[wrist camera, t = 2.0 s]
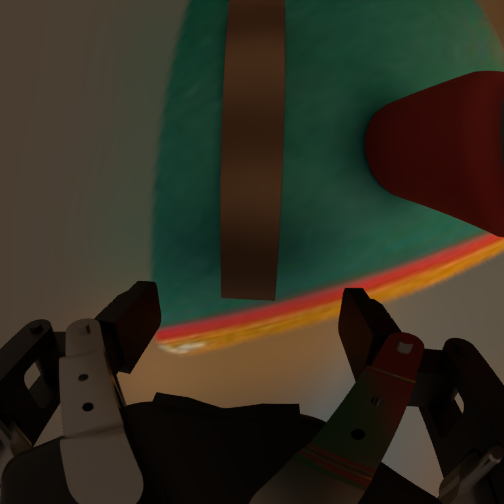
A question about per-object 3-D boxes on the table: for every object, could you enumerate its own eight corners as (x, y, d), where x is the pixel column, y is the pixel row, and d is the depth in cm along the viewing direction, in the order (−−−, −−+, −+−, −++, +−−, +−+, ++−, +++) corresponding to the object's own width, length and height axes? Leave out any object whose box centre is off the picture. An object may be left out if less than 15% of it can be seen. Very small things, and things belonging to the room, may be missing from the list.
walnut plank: (237, 19, 13) (229, -10, 10) (282, 19, 13) (284, -10, 9) (230, 270, 19) (221, 297, 15) (274, 272, 19) (274, 300, 15)
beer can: (346, 171, 16) (473, 197, 5) (379, 86, 14) (500, 21, 3) (422, 213, 16) (550, 280, 5) (451, 135, 14) (581, 140, 3)
